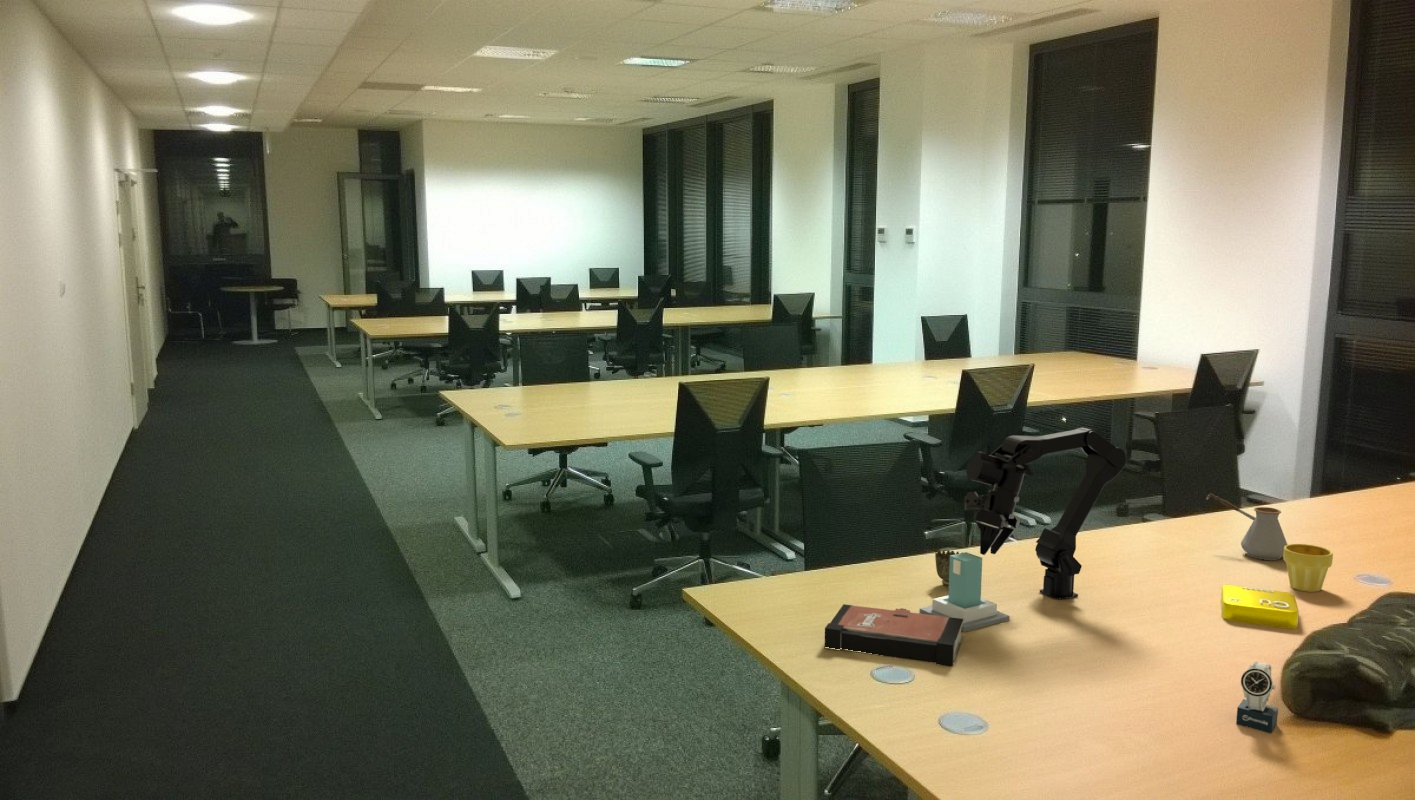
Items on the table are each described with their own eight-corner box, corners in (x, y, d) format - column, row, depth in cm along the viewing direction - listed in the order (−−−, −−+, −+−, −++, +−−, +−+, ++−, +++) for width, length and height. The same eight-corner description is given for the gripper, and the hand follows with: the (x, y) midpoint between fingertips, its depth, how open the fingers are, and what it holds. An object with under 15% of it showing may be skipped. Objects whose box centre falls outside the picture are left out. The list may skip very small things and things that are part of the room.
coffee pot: (1293, 556, 277) (1298, 502, 275) (1280, 565, 269) (1285, 509, 267) (1210, 540, 292) (1214, 489, 290) (1195, 548, 284) (1199, 496, 282)
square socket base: (963, 601, 242) (964, 587, 241) (1009, 620, 230) (1010, 605, 229) (919, 612, 234) (919, 597, 234) (964, 632, 223) (964, 616, 222)
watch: (1233, 728, 178) (1238, 668, 176) (1244, 712, 184) (1249, 653, 183) (1269, 737, 175) (1274, 676, 173) (1279, 721, 181) (1284, 661, 179)
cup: (965, 591, 249) (966, 559, 248) (934, 589, 250) (935, 557, 249) (964, 581, 256) (965, 550, 255) (933, 579, 258) (935, 549, 256)
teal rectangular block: (964, 606, 235) (966, 552, 233) (980, 613, 231) (982, 557, 229) (946, 611, 233) (948, 555, 231) (962, 617, 228) (964, 561, 226)
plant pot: (1283, 591, 248) (1287, 552, 247) (1278, 579, 258) (1281, 541, 257) (1333, 597, 245) (1336, 557, 243) (1325, 584, 254) (1329, 545, 253)
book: (963, 637, 221) (964, 615, 220) (952, 668, 204) (953, 645, 204) (843, 622, 230) (844, 601, 229) (824, 651, 214) (824, 628, 213)
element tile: (1292, 610, 237) (1294, 590, 236) (1298, 632, 224) (1300, 611, 223) (1220, 600, 243) (1221, 581, 243) (1221, 621, 230) (1223, 600, 229)
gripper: (983, 481, 250) (965, 542, 250) (962, 477, 234) (943, 543, 234) (1028, 495, 244) (1010, 557, 245) (1009, 492, 228) (990, 559, 228)
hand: (987, 554), depth 238 cm, fingers open, 9 cm apart
